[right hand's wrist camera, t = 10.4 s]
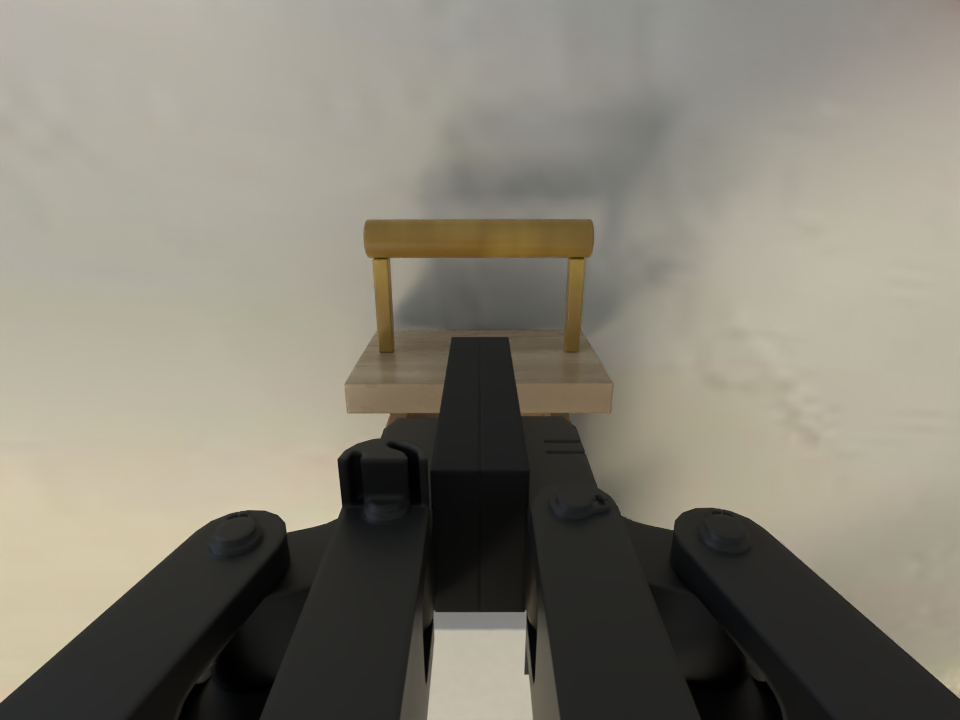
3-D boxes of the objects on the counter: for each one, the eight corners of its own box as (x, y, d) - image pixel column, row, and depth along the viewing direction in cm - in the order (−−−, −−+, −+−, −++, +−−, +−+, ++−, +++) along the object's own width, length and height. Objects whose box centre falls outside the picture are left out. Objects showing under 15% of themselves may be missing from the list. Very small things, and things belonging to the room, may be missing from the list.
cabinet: (381, 504, 30) (345, 630, 22) (577, 504, 30) (613, 629, 22) (400, 759, 37) (378, 924, 29) (559, 758, 37) (581, 924, 29)
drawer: (368, 212, 24) (329, 231, 18) (589, 212, 24) (627, 230, 18) (397, 640, 32) (378, 752, 26) (561, 640, 32) (580, 752, 26)
